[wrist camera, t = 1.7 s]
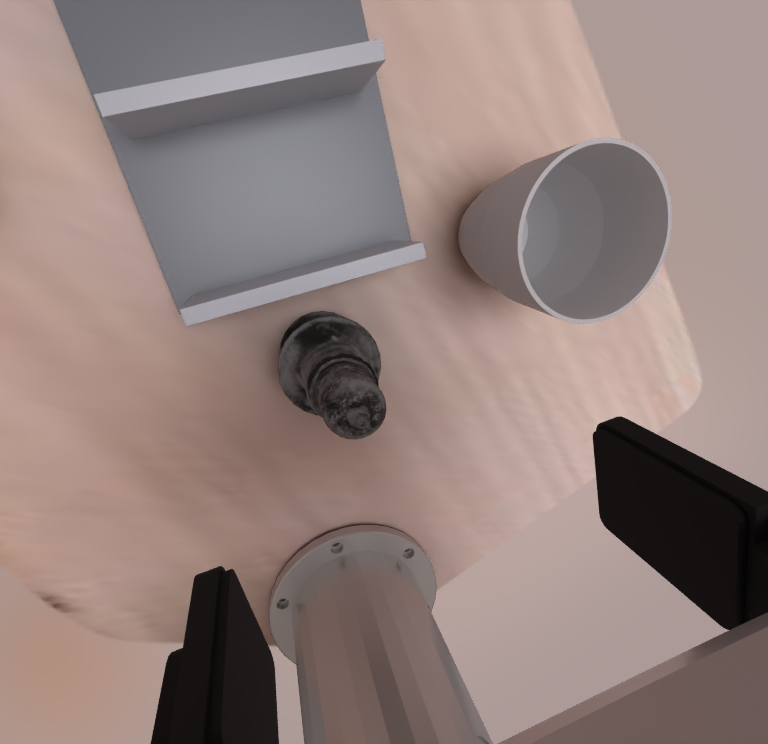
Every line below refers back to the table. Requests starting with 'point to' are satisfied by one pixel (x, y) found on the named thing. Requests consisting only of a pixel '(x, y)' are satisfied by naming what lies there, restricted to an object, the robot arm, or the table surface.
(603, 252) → the cup
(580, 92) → the table surface
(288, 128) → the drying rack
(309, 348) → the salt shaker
